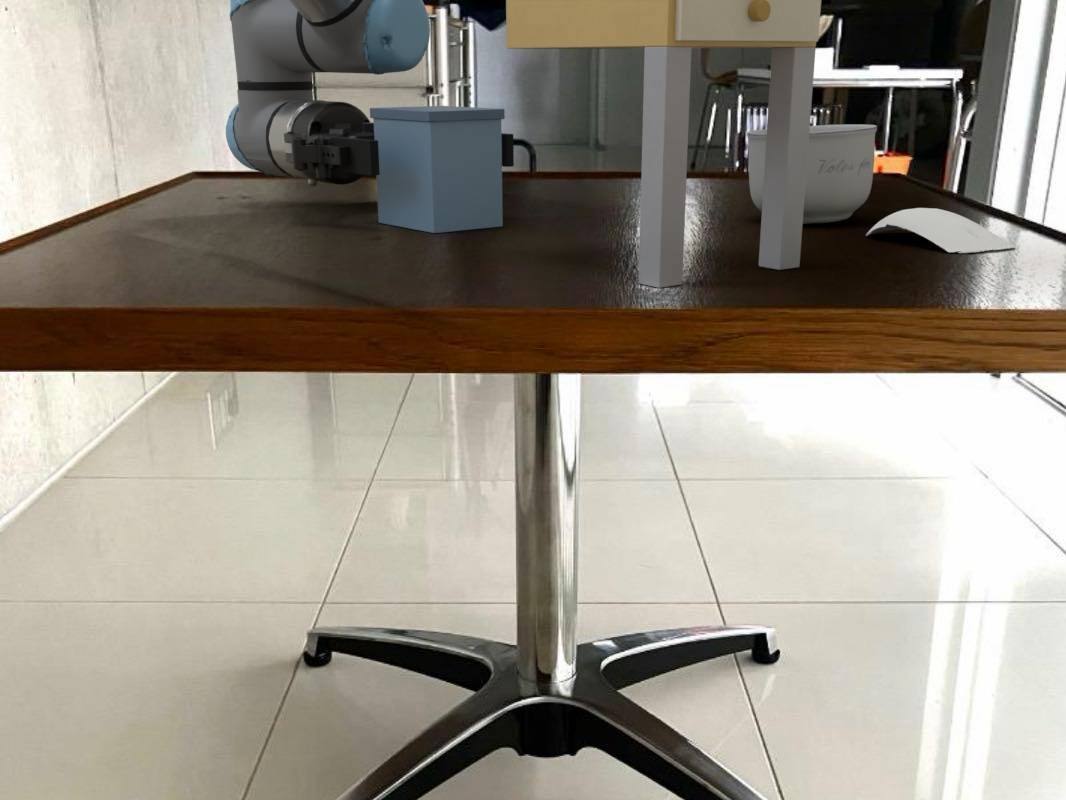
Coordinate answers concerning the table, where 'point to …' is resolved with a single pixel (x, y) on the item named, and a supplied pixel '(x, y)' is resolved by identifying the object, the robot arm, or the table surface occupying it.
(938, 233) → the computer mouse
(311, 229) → the table surface
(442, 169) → the storage box
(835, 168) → the teacup
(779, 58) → the drawer chest
